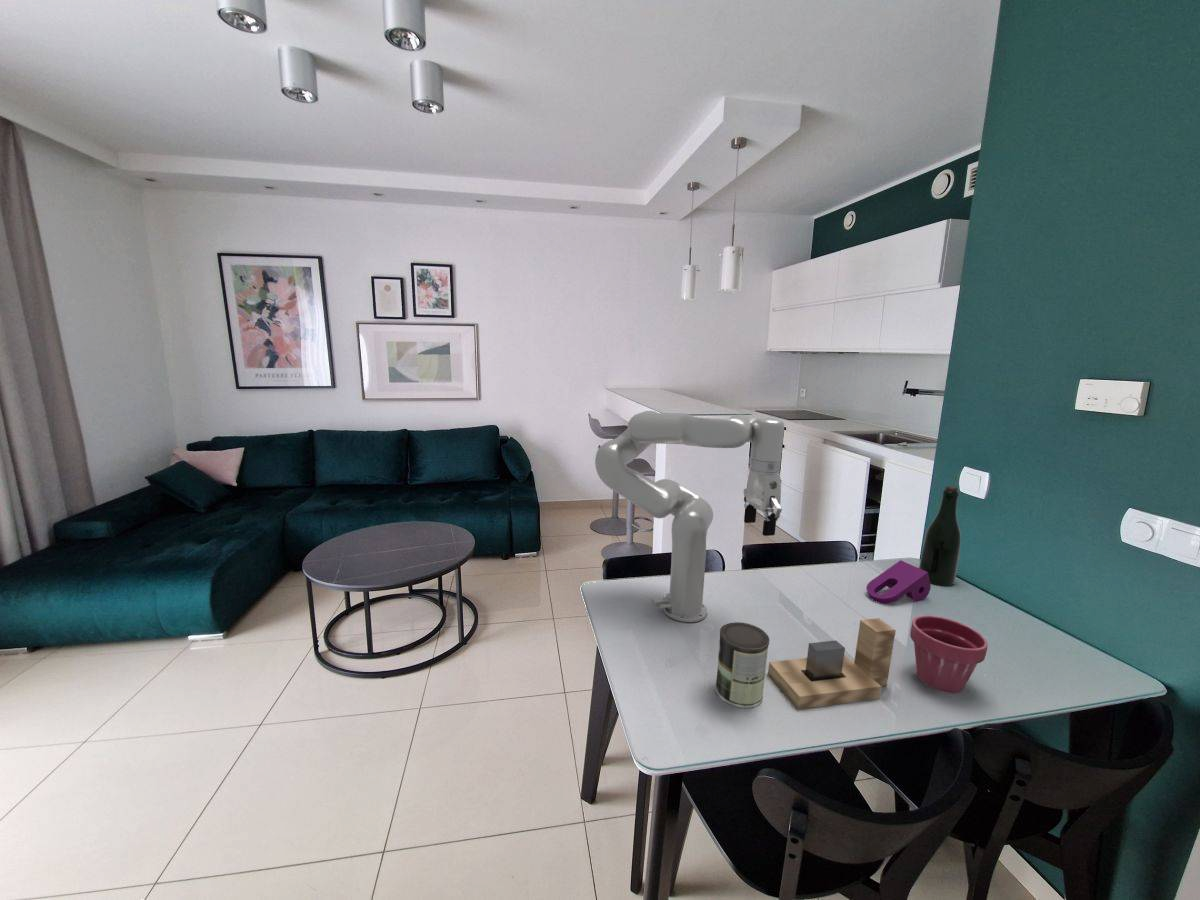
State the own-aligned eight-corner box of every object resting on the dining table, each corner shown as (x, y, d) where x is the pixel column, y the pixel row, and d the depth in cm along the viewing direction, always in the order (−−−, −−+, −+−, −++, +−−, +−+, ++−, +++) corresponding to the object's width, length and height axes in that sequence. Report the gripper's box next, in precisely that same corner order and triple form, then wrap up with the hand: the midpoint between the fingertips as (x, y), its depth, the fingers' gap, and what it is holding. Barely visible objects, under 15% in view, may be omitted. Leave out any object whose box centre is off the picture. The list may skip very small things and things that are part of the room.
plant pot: (983, 682, 115) (993, 632, 112) (970, 711, 105) (981, 657, 103) (913, 654, 125) (921, 608, 122) (896, 678, 115) (904, 628, 113)
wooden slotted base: (798, 709, 104) (805, 649, 101) (767, 673, 116) (773, 619, 113) (898, 695, 109) (908, 638, 107) (860, 662, 121) (868, 610, 118)
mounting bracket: (890, 624, 151) (932, 593, 154) (885, 603, 148) (928, 572, 152) (864, 609, 159) (905, 580, 163) (859, 588, 157) (900, 560, 160)
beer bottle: (953, 578, 170) (969, 486, 164) (955, 589, 161) (973, 493, 155) (917, 570, 176) (932, 481, 169) (917, 581, 167) (933, 487, 161)
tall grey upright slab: (812, 691, 110) (817, 651, 108) (804, 682, 113) (808, 643, 111) (839, 687, 111) (845, 647, 109) (830, 679, 114) (836, 640, 112)
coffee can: (706, 693, 108) (711, 635, 105) (727, 671, 116) (732, 616, 113) (752, 716, 102) (758, 655, 99) (770, 691, 110) (776, 633, 107)
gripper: (797, 473, 120) (790, 540, 123) (760, 458, 136) (755, 517, 140) (769, 474, 118) (762, 541, 122) (735, 459, 135) (730, 518, 138)
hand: (758, 528), depth 131 cm, fingers open, 9 cm apart
